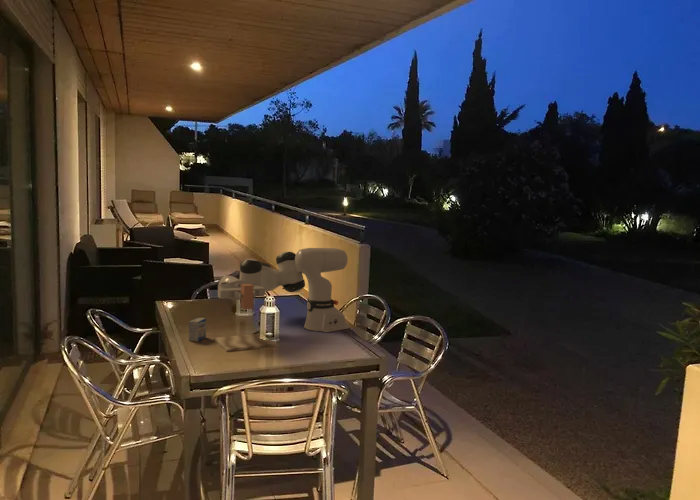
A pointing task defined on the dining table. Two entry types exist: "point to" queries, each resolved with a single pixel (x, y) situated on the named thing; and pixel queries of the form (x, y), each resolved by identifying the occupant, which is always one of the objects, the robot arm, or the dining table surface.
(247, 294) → the terracotta block
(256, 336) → the birch board
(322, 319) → the robot arm
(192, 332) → the medicine box
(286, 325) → the dining table surface
